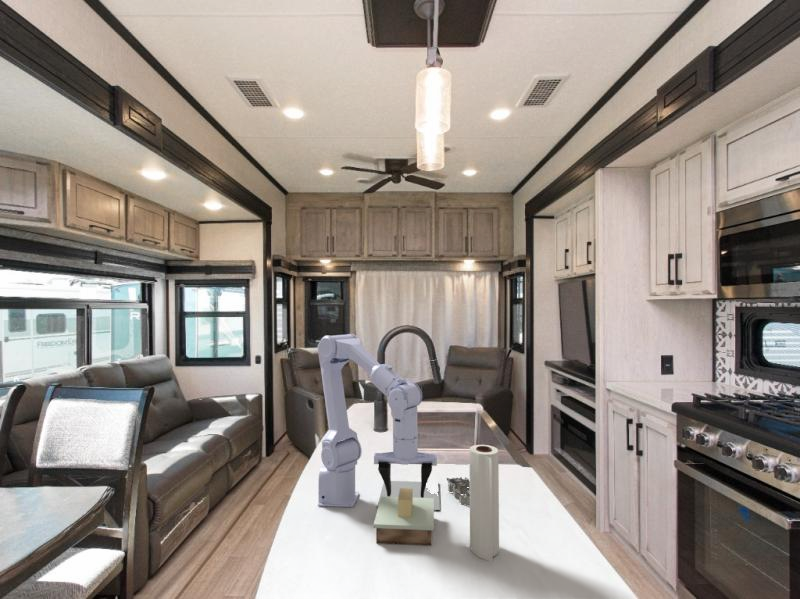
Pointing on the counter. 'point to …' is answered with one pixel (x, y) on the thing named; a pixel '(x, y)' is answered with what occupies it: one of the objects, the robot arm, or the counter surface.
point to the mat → (416, 491)
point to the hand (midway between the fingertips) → (405, 495)
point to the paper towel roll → (484, 501)
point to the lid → (405, 512)
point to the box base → (403, 536)
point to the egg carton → (459, 489)
